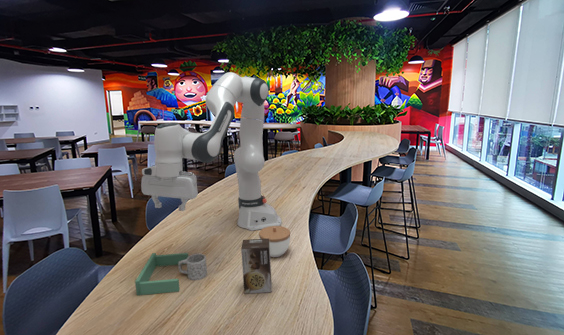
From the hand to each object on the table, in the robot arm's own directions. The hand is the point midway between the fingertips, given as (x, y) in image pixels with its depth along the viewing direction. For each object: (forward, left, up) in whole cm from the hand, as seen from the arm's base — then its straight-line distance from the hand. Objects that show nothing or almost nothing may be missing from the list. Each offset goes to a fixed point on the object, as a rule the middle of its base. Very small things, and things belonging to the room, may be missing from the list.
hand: (170, 208), depth 103 cm
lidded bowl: (-37, -8, -25) cm, 45 cm away
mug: (-6, +3, -25) cm, 26 cm away
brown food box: (-29, +14, -25) cm, 41 cm away
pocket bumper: (+3, +3, -24) cm, 25 cm away
